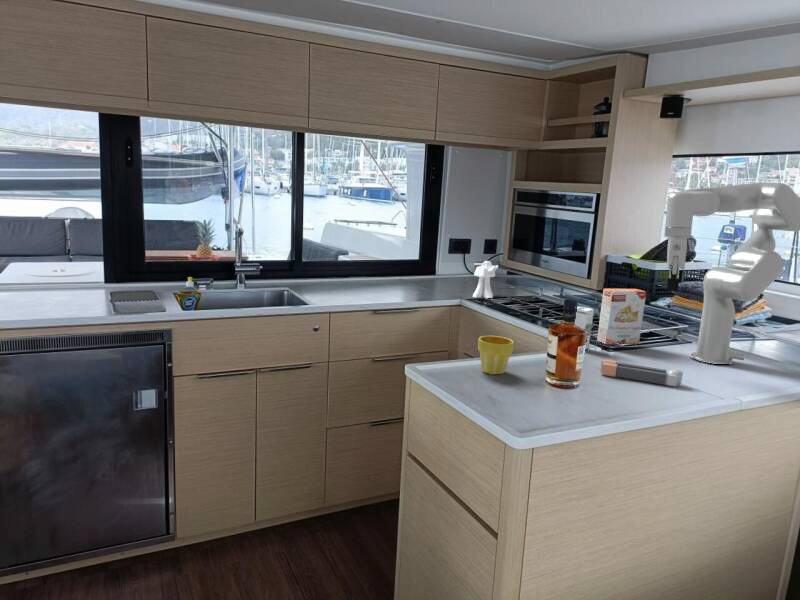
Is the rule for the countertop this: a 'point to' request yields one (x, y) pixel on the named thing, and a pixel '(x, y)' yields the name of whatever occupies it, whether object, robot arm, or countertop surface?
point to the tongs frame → (643, 374)
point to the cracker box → (621, 316)
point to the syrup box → (584, 321)
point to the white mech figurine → (484, 279)
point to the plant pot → (494, 353)
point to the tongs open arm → (633, 366)
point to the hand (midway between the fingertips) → (672, 290)
